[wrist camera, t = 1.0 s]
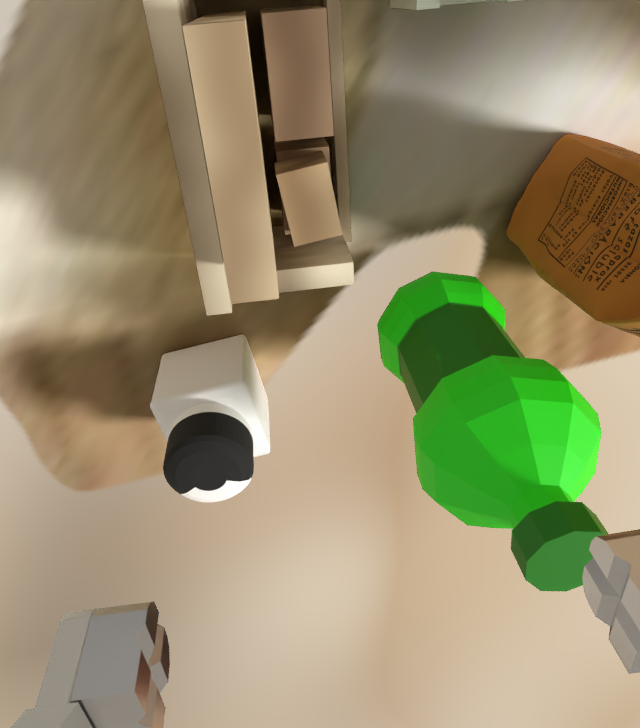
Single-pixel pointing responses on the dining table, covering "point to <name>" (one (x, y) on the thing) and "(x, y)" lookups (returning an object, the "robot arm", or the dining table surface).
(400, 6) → the stand
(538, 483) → the plastic bottle
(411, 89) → the dining table surface
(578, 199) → the coffee package
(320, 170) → the offcut top
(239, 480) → the medicine bottle
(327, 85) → the offcut tall
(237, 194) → the light wood flat panel
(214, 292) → the box
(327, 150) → the offcut low
